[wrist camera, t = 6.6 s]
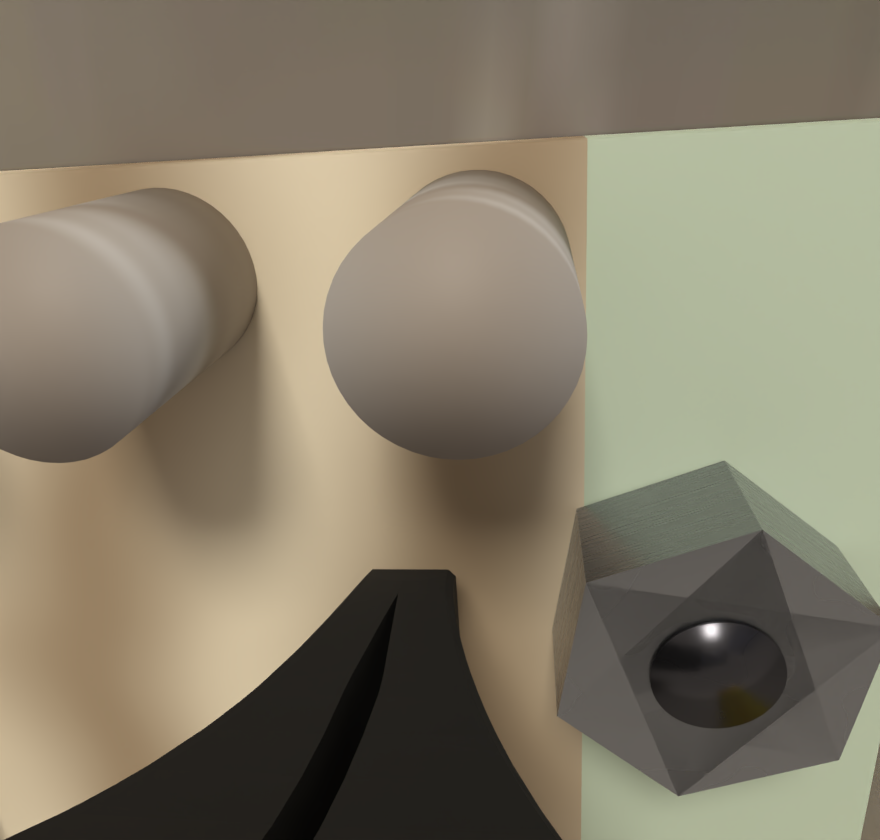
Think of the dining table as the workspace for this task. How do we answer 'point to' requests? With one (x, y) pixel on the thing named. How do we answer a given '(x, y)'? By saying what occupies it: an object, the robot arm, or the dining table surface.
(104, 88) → the dining table surface
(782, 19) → the dining table surface
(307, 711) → the robot arm
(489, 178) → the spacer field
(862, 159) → the felt mat
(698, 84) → the dining table surface
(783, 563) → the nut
